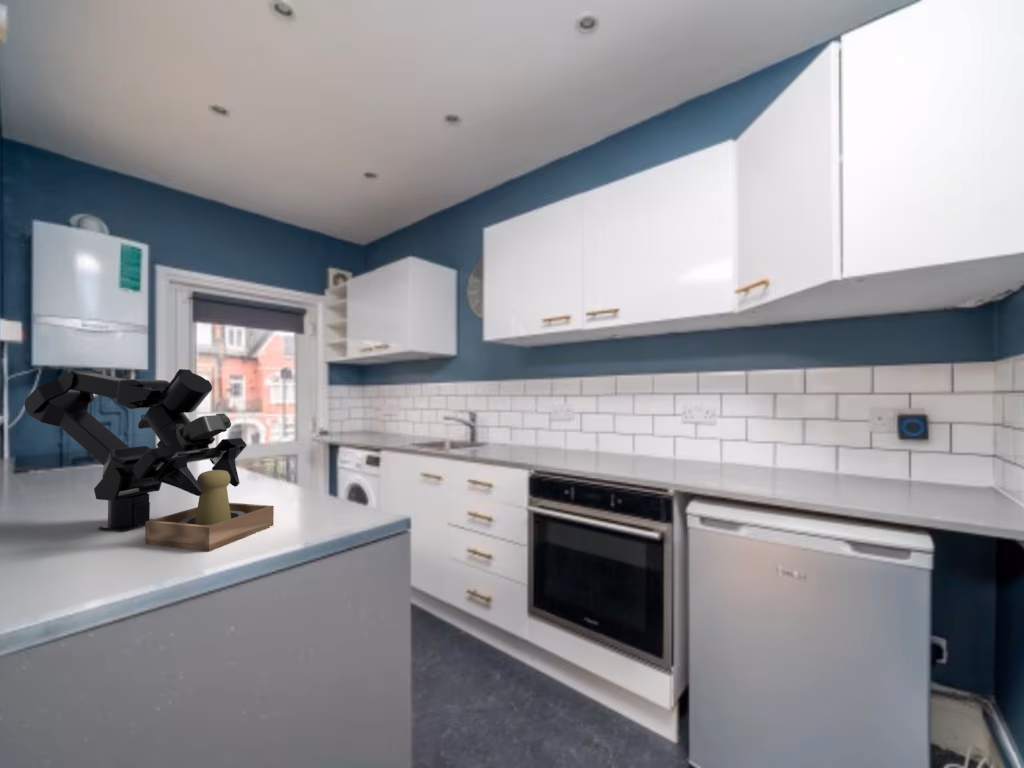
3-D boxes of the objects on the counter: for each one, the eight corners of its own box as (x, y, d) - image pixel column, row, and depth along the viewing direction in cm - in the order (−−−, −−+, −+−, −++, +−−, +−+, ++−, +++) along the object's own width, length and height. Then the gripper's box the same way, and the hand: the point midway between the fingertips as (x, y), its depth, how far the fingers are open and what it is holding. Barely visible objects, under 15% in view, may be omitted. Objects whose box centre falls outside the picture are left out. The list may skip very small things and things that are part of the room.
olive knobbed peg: (224, 533, 78) (224, 473, 78) (186, 535, 77) (187, 474, 77) (237, 523, 84) (238, 467, 84) (203, 525, 83) (203, 468, 83)
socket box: (145, 544, 75) (145, 521, 75) (216, 520, 89) (217, 501, 89) (209, 551, 72) (209, 527, 72) (273, 525, 86) (273, 505, 86)
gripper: (146, 401, 73) (197, 469, 70) (240, 399, 91) (283, 453, 88) (111, 446, 74) (159, 514, 72) (209, 435, 93) (251, 489, 90)
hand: (220, 489), depth 80 cm, fingers open, 7 cm apart
